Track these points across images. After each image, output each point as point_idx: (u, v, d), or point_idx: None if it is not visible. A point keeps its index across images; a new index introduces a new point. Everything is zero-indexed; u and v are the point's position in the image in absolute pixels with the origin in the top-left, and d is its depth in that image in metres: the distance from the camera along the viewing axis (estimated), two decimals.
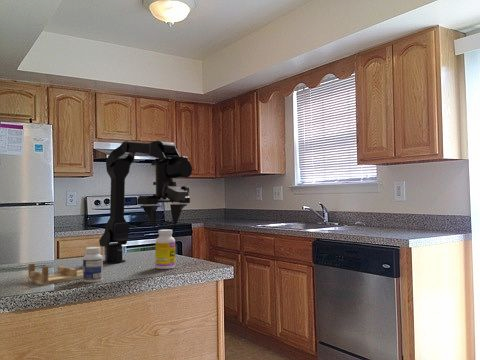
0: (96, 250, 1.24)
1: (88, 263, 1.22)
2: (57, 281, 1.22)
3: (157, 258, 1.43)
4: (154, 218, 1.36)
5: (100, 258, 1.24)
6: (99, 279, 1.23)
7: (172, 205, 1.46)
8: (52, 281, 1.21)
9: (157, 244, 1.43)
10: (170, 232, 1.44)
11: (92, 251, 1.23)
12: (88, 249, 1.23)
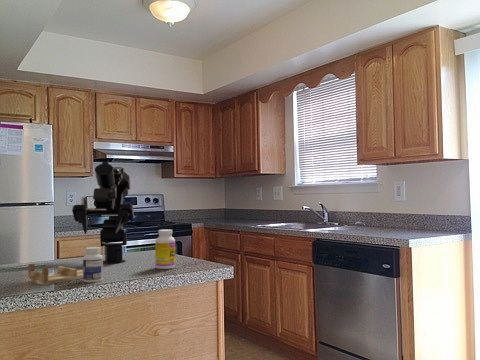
0: (96, 250, 1.24)
1: (88, 263, 1.22)
2: (57, 281, 1.22)
3: (157, 258, 1.43)
4: (83, 224, 1.34)
5: (100, 258, 1.24)
6: (99, 279, 1.23)
7: None
8: (52, 281, 1.21)
9: (157, 244, 1.43)
10: (170, 232, 1.44)
11: (92, 251, 1.23)
12: (88, 249, 1.23)
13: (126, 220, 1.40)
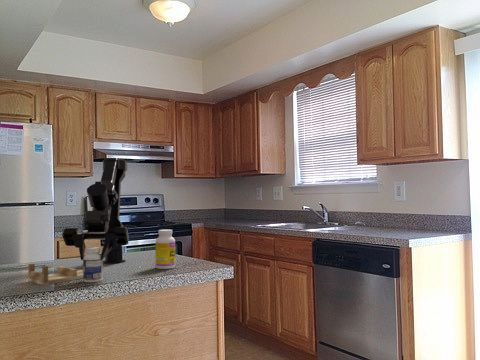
0: (96, 250, 1.24)
1: (88, 262, 1.22)
2: (57, 281, 1.22)
3: (157, 258, 1.43)
4: (80, 249, 1.24)
5: (100, 258, 1.24)
6: (99, 279, 1.23)
7: None
8: (52, 281, 1.21)
9: (157, 244, 1.43)
10: (170, 232, 1.44)
11: (92, 251, 1.23)
12: (88, 249, 1.23)
13: (114, 244, 1.30)
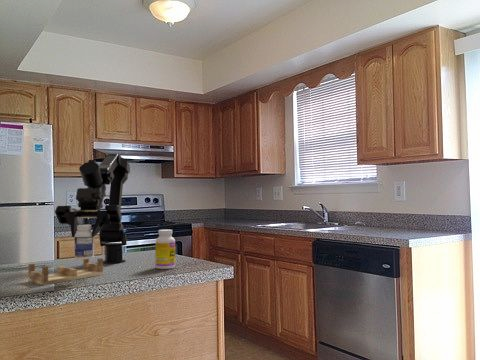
0: (87, 227, 1.24)
1: (79, 240, 1.22)
2: (57, 281, 1.22)
3: (157, 258, 1.43)
4: (71, 226, 1.25)
5: (91, 235, 1.24)
6: (90, 256, 1.24)
7: None
8: (52, 281, 1.21)
9: (157, 244, 1.43)
10: (170, 232, 1.44)
11: (83, 228, 1.23)
12: (79, 226, 1.23)
13: (107, 222, 1.30)
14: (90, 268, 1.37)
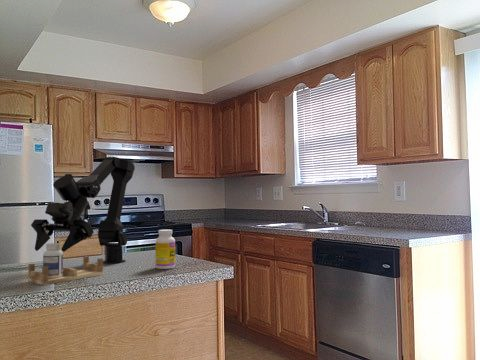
0: (53, 246, 1.24)
1: (45, 258, 1.24)
2: (57, 281, 1.22)
3: (157, 258, 1.43)
4: (37, 240, 1.27)
5: (57, 255, 1.24)
6: (55, 275, 1.24)
7: None
8: (52, 281, 1.21)
9: (157, 244, 1.43)
10: (170, 232, 1.44)
11: (49, 247, 1.24)
12: (46, 245, 1.25)
13: (82, 237, 1.29)
14: (90, 268, 1.37)
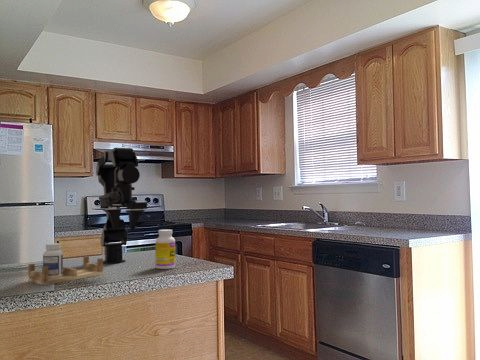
0: (53, 246, 1.24)
1: (45, 259, 1.24)
2: (57, 281, 1.22)
3: (157, 258, 1.43)
4: (111, 221, 1.48)
5: (57, 255, 1.24)
6: (55, 276, 1.24)
7: None
8: (52, 281, 1.21)
9: (157, 244, 1.43)
10: (170, 232, 1.44)
11: (49, 247, 1.24)
12: (46, 245, 1.25)
13: (141, 211, 1.42)
14: (90, 268, 1.37)
